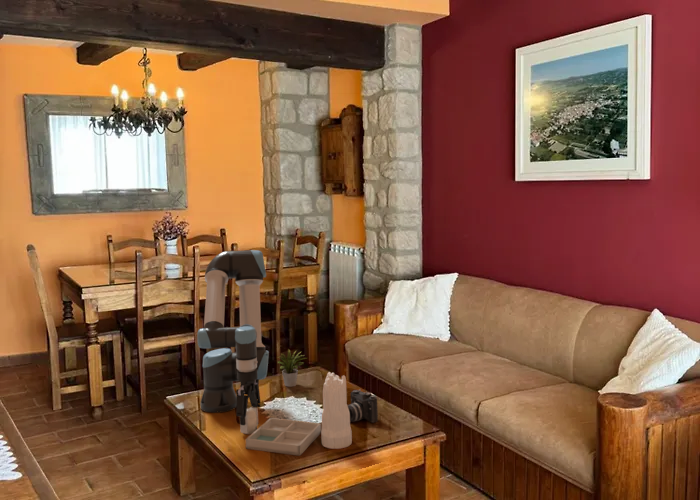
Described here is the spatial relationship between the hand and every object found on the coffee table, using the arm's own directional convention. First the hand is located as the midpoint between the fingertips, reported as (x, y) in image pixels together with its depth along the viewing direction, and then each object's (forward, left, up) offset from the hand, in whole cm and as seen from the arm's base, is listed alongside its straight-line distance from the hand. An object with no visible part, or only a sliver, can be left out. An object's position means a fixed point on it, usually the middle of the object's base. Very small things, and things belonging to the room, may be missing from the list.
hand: (249, 428), depth 249 cm
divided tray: (+16, -4, -1) cm, 17 cm away
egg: (0, 0, -1) cm, 1 cm away
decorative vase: (+35, -1, -1) cm, 35 cm away
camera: (+35, +23, -1) cm, 42 cm away
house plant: (-6, +51, -1) cm, 51 cm away
